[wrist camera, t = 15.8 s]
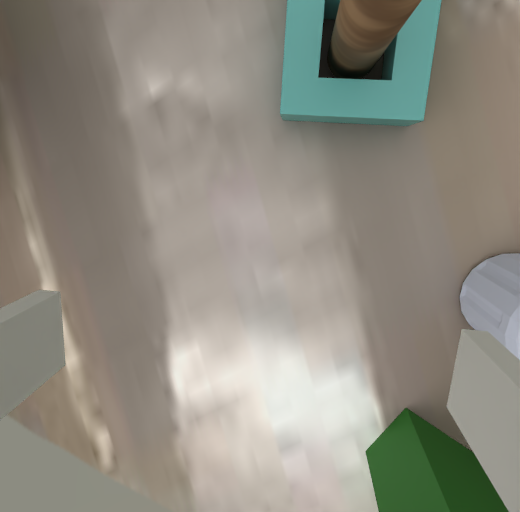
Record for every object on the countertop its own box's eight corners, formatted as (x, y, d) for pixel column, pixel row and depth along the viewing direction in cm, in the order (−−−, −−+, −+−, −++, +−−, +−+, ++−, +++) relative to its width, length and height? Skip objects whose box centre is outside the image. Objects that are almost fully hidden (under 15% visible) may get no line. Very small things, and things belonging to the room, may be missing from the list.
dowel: (325, 81, 37) (350, -10, 18) (329, 30, 36) (362, -126, 17) (372, 83, 37) (451, -8, 17) (378, 31, 35) (469, -127, 16)
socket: (282, 120, 38) (280, 113, 33) (292, -19, 35) (290, -47, 30) (407, 126, 37) (423, 120, 32) (427, -16, 34) (448, -46, 29)
